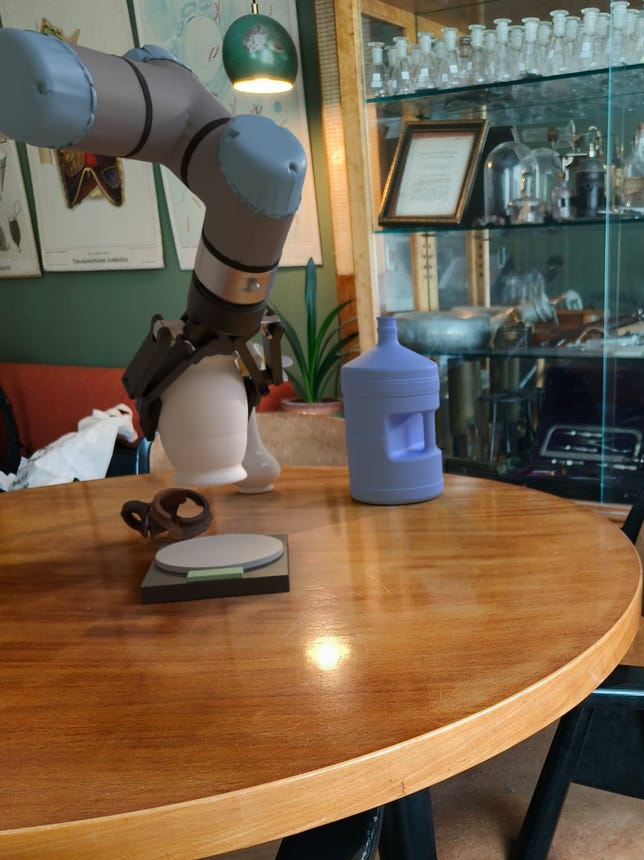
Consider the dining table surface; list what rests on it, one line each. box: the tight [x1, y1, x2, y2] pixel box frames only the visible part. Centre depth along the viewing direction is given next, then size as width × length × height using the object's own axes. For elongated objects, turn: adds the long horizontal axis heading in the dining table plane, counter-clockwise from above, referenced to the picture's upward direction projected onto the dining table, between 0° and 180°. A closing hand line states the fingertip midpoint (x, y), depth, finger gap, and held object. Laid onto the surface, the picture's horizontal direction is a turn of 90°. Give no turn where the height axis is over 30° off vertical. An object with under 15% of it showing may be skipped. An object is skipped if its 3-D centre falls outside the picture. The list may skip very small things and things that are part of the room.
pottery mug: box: [119, 487, 214, 543], centre depth 121 cm, size 12×10×8 cm
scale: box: [139, 533, 291, 605], centre depth 107 cm, size 16×19×3 cm
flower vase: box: [232, 339, 294, 495], centre depth 149 cm, size 13×18×25 cm
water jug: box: [340, 315, 445, 506], centre depth 142 cm, size 16×16×28 cm
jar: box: [156, 346, 248, 488], centre depth 102 cm, size 11×10×15 cm
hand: (193, 426), depth 104 cm, fingers closed on jar, 11 cm apart
